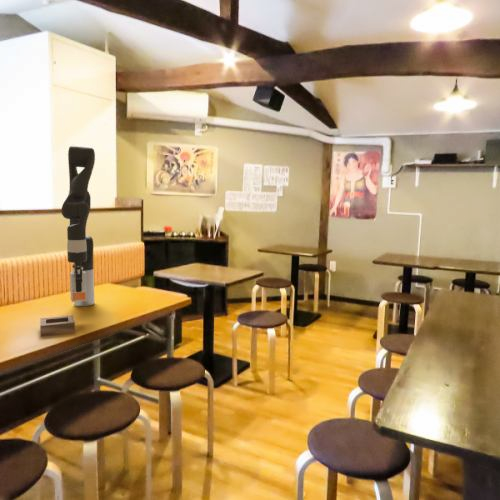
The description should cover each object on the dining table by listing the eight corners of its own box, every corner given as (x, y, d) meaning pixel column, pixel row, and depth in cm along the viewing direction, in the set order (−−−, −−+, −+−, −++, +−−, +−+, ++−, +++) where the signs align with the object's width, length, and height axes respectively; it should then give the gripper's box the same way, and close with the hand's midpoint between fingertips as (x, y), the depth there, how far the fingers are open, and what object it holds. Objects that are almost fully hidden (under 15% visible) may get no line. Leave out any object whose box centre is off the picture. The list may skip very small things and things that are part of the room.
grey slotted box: (40, 328, 174) (40, 318, 174) (73, 324, 179) (72, 315, 179) (40, 336, 164) (40, 326, 164) (74, 332, 169) (74, 322, 169)
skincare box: (71, 302, 180) (70, 273, 179) (70, 299, 184) (69, 272, 182) (87, 300, 183) (86, 272, 181) (85, 298, 187) (85, 271, 185)
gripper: (66, 248, 185) (68, 287, 188) (68, 253, 172) (69, 295, 175) (85, 247, 188) (86, 286, 191) (88, 252, 176) (89, 293, 178)
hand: (78, 290), depth 183 cm, fingers closed on skincare box, 4 cm apart
